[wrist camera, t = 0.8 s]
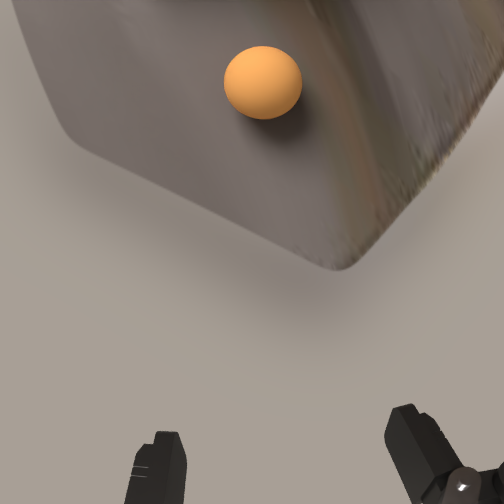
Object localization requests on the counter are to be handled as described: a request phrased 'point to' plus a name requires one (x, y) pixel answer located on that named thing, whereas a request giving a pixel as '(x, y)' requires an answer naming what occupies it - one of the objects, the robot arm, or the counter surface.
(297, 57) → the counter surface
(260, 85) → the ball
